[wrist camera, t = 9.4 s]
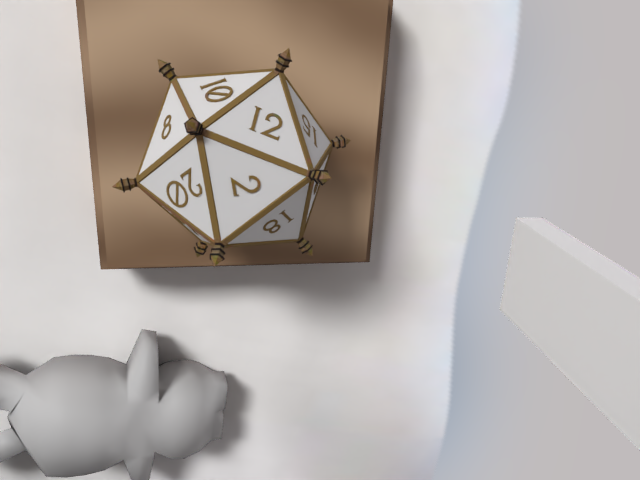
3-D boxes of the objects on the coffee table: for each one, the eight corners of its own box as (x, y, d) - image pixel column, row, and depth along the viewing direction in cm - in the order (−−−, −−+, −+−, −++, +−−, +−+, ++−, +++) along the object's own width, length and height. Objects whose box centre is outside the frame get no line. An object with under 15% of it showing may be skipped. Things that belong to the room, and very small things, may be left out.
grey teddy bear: (220, 495, 36) (-69, 526, 31) (209, 437, 40) (-46, 456, 35) (238, 360, 33) (-83, 370, 28) (223, 314, 37) (-55, 316, 32)
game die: (232, 162, 32) (190, 332, 26) (119, 40, 26) (35, 227, 20) (386, 114, 28) (376, 303, 22) (296, -43, 22) (251, 162, 16)
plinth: (356, 241, 35) (374, 269, 32) (109, 246, 33) (97, 277, 29) (377, -15, 30) (401, -17, 27) (85, -33, 28) (67, -38, 24)
